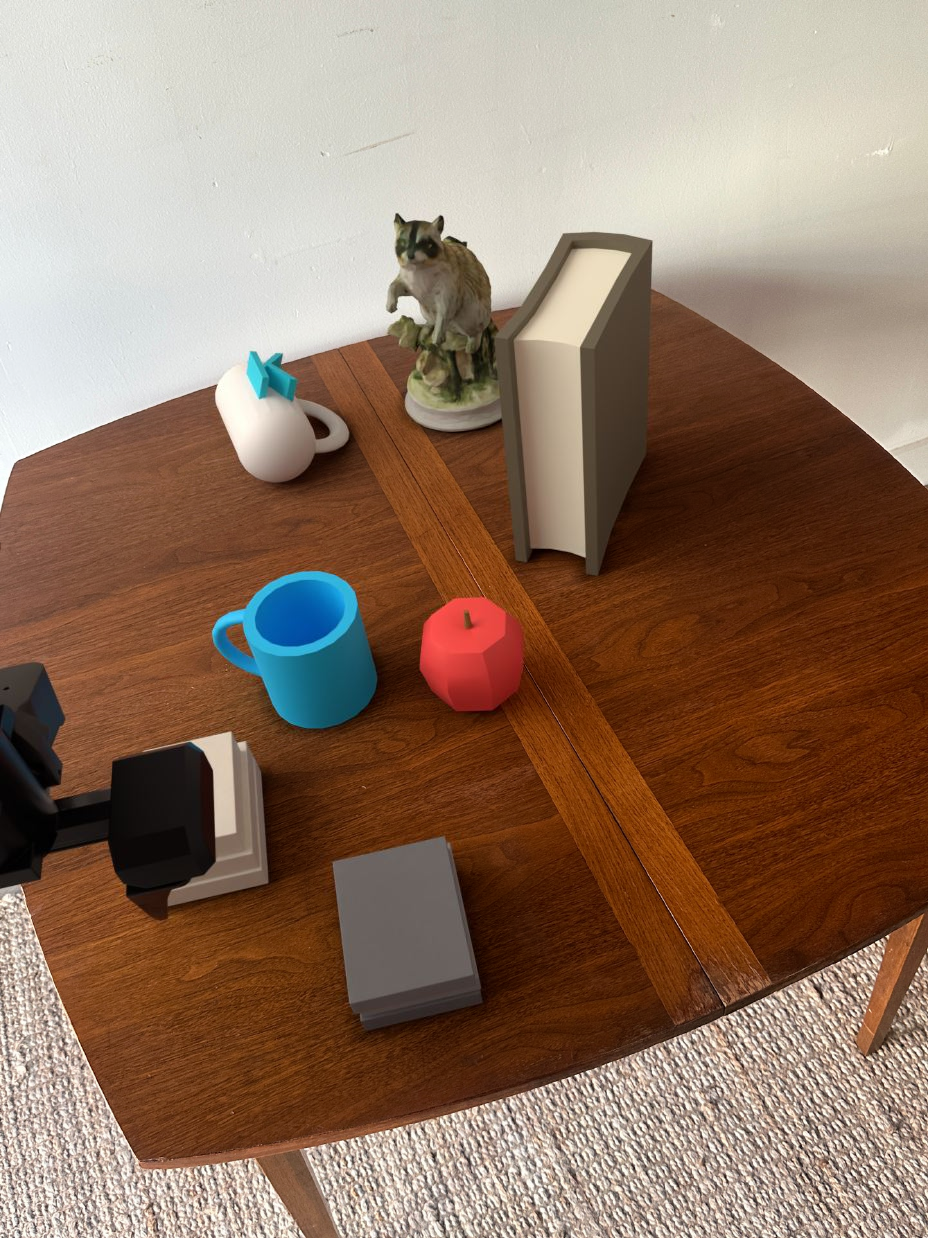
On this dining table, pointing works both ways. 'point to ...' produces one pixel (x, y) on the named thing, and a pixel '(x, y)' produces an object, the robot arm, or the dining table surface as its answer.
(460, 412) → the figurine
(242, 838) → the white block
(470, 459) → the dining table surface
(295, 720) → the mug
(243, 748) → the white pile
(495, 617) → the apple
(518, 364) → the book
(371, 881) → the grey pile
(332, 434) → the mug
